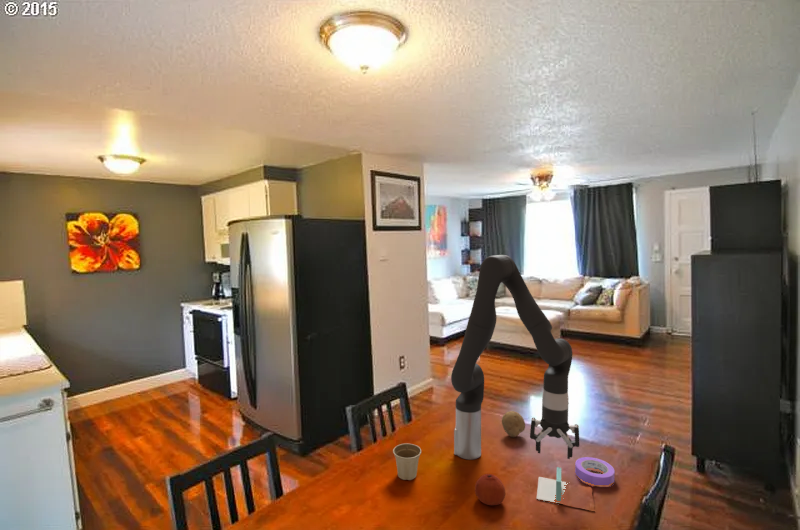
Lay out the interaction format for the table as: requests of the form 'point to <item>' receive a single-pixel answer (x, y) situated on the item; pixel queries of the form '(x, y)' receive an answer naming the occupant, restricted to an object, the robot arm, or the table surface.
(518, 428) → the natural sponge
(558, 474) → the tile
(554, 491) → the mat
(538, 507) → the table surface
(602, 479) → the masking tape
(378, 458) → the table surface
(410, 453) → the flower pot
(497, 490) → the fruit
